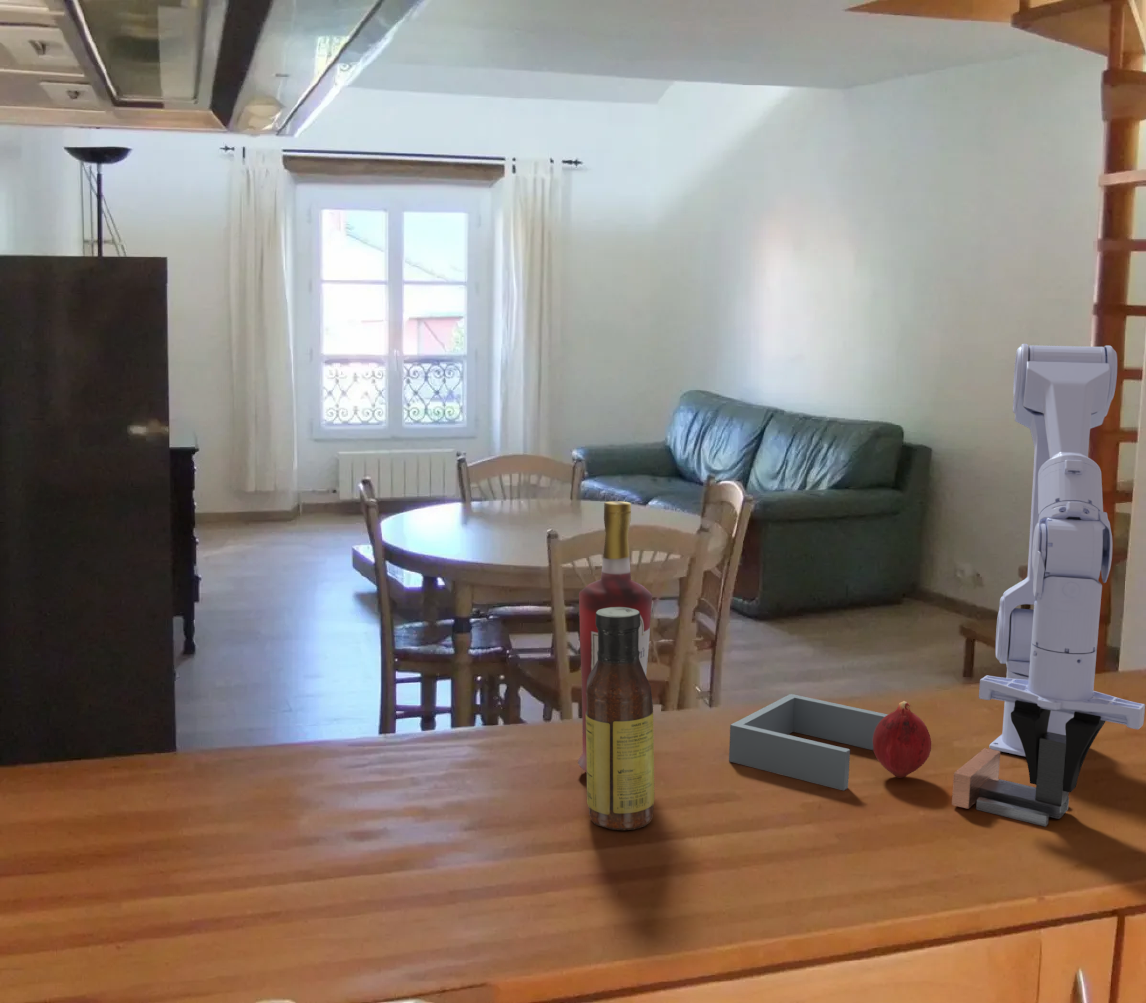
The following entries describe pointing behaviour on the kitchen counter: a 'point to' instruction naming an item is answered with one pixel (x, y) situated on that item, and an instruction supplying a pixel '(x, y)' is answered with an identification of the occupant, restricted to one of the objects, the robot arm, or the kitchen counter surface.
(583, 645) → the liquor
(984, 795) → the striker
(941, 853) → the kitchen counter surface
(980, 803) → the rail
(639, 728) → the sauce bottle
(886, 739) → the onion
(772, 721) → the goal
